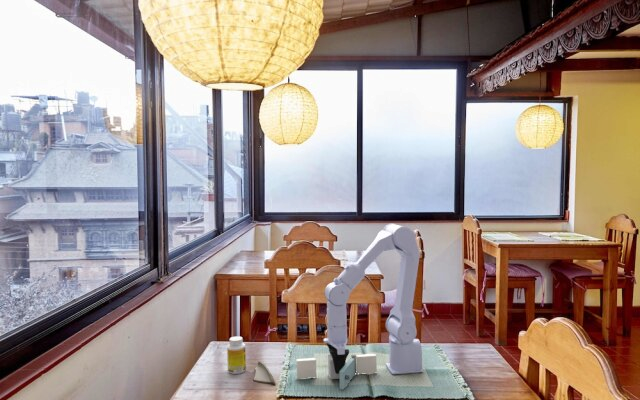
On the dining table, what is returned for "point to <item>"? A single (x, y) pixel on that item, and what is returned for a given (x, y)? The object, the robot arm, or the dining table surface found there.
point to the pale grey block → (332, 368)
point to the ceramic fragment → (263, 374)
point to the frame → (362, 362)
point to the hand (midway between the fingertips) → (337, 369)
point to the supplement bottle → (236, 355)
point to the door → (347, 373)
